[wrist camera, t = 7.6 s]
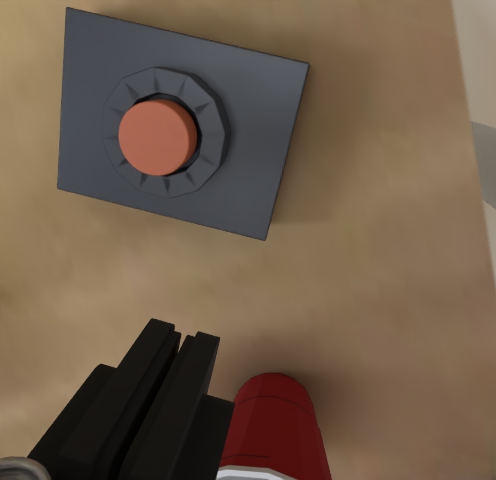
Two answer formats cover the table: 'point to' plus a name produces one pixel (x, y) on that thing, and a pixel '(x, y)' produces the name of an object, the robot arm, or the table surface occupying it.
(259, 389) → the plastic cup
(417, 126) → the table surface
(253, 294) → the table surface
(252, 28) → the table surface
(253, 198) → the button base
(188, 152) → the push button
